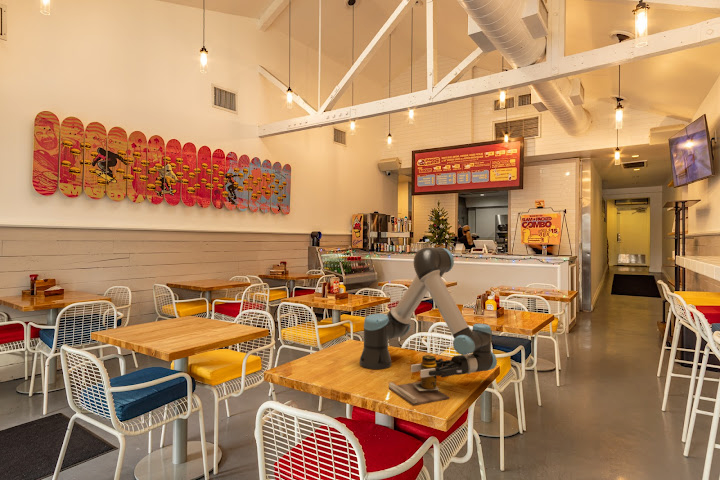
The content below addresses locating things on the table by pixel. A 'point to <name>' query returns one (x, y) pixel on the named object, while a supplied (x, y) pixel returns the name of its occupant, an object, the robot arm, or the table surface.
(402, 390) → the dock board
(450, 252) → the robot arm
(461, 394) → the table surface
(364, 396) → the table surface
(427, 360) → the condiment
